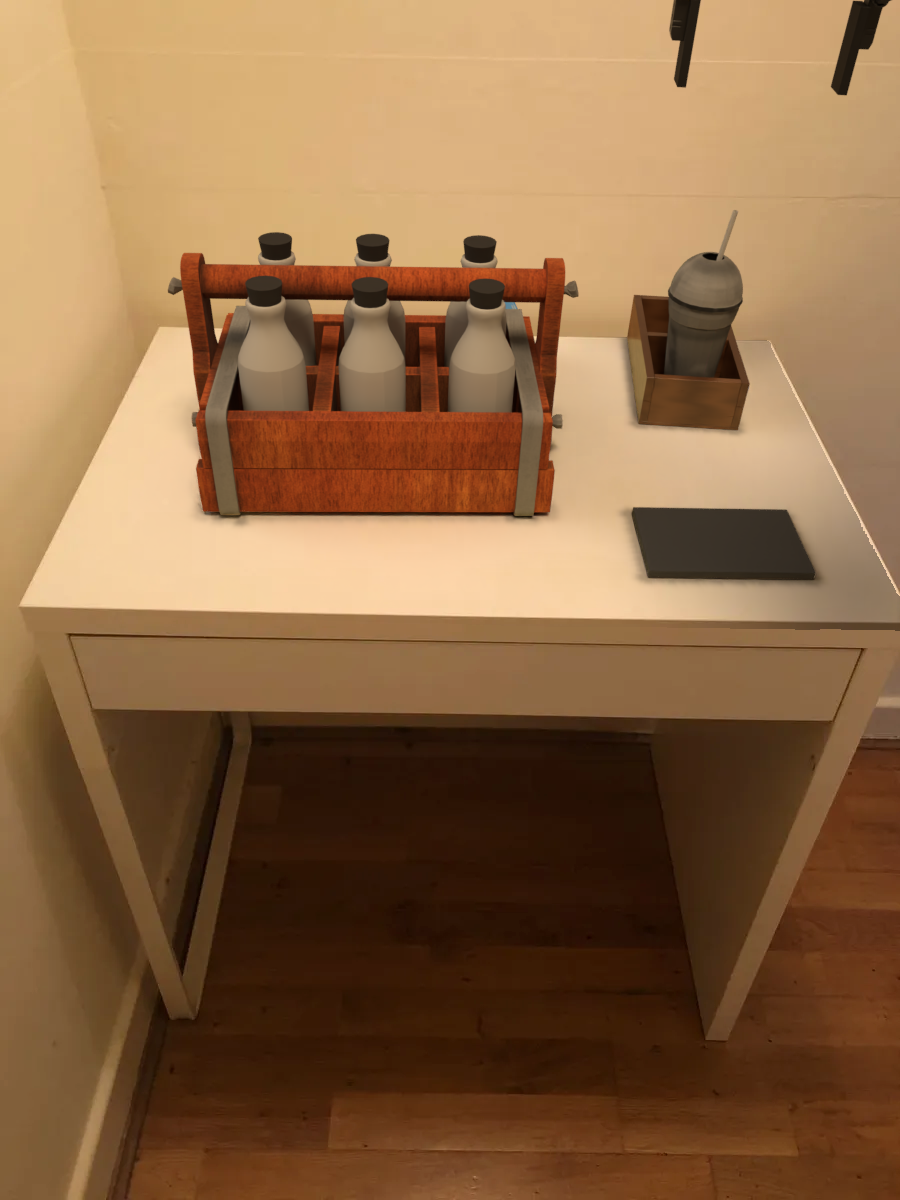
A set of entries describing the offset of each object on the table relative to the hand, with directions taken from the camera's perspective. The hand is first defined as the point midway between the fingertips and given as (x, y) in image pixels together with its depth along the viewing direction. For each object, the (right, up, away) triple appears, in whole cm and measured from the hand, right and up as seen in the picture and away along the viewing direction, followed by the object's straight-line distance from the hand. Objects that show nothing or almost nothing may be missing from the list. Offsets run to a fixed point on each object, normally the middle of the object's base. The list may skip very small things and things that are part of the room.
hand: (758, 87), depth 85 cm
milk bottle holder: (-34, -30, +10) cm, 46 cm away
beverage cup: (-2, -23, +19) cm, 30 cm away
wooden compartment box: (-2, -20, +23) cm, 30 cm away
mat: (-3, -40, +1) cm, 40 cm away
